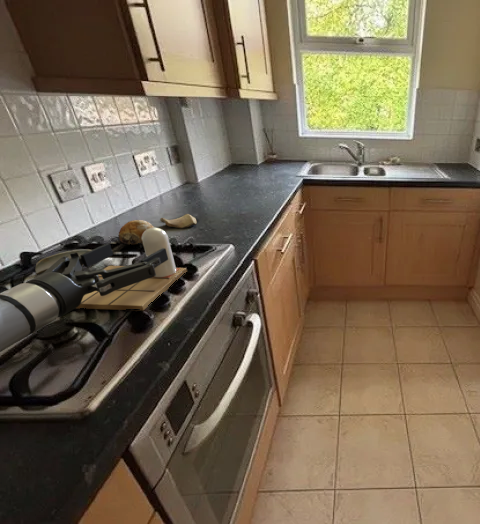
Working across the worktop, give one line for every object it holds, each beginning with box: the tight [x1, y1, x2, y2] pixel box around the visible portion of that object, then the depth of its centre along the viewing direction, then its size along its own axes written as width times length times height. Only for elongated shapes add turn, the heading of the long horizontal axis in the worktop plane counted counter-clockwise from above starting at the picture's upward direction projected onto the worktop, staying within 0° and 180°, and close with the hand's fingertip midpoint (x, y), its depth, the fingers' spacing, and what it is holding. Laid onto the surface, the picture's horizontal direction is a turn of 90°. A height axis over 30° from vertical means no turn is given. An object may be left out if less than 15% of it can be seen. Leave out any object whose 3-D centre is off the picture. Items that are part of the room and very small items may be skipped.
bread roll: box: [117, 219, 156, 245], centre depth 104 cm, size 10×10×8 cm
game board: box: [76, 265, 188, 311], centre depth 78 cm, size 20×18×1 cm
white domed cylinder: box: [141, 227, 177, 277], centre depth 80 cm, size 5×5×12 cm
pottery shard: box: [159, 213, 198, 229], centre depth 118 cm, size 11×4×10 cm
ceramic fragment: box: [34, 249, 92, 275], centre depth 86 cm, size 14×5×4 cm, turn 141°
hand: (137, 251), depth 74 cm, fingers open, 13 cm apart
